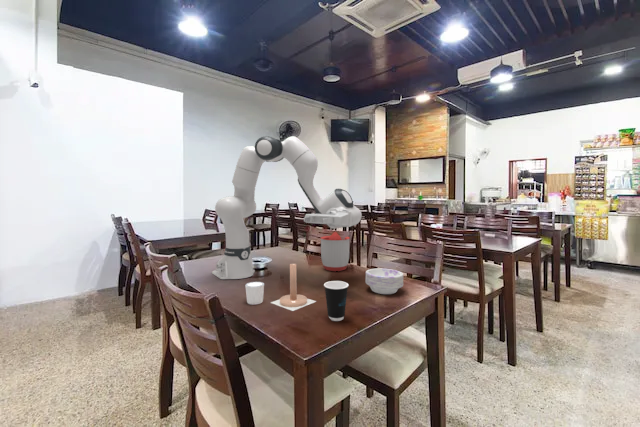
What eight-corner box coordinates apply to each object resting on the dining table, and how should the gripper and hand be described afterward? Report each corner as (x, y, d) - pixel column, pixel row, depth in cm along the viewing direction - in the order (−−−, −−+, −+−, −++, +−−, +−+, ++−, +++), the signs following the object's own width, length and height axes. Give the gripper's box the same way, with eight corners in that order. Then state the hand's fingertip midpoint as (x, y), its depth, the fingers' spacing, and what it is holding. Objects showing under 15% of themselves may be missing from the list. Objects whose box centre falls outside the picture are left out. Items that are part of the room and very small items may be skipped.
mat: (270, 303, 109) (270, 302, 109) (294, 295, 118) (294, 294, 118) (292, 312, 101) (292, 311, 101) (316, 302, 110) (316, 301, 110)
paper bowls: (403, 287, 128) (403, 268, 127) (402, 299, 113) (403, 278, 113) (367, 284, 132) (368, 266, 131) (362, 295, 117) (362, 275, 117)
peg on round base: (274, 302, 109) (273, 264, 108) (294, 295, 116) (293, 260, 115) (292, 309, 102) (292, 269, 101) (312, 301, 109) (312, 263, 109)
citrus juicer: (356, 267, 162) (357, 231, 161) (339, 274, 148) (339, 234, 147) (333, 263, 171) (333, 229, 170) (314, 269, 157) (314, 232, 156)
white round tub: (260, 306, 106) (259, 287, 105) (242, 305, 107) (241, 286, 107) (267, 300, 112) (267, 281, 112) (250, 298, 114) (250, 280, 113)
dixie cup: (325, 312, 100) (325, 280, 100) (349, 313, 99) (349, 281, 98) (322, 322, 92) (322, 287, 92) (347, 323, 91) (347, 288, 91)
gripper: (317, 210, 135) (295, 211, 125) (354, 211, 122) (333, 213, 111) (317, 224, 136) (295, 226, 125) (354, 226, 122) (333, 230, 112)
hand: (313, 220), depth 118 cm, fingers open, 8 cm apart
